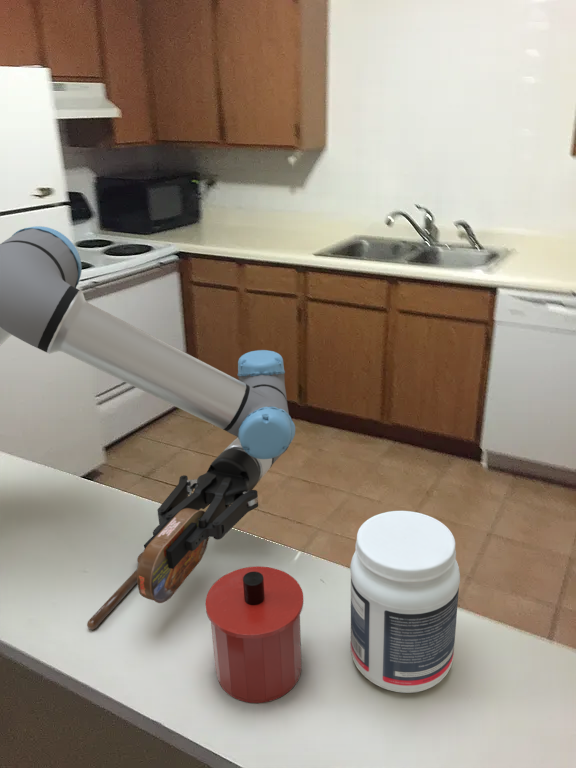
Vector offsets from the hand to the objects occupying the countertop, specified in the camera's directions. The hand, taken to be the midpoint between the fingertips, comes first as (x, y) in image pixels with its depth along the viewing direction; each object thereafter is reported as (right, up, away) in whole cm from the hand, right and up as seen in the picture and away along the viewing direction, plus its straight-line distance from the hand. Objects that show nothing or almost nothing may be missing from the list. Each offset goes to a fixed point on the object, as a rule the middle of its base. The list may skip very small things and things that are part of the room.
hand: (158, 556), depth 87 cm
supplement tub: (+31, -12, -2) cm, 33 cm away
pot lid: (+13, -3, -7) cm, 15 cm away
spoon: (-6, -7, +12) cm, 15 cm away
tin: (+1, -4, +6) cm, 7 cm away
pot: (+13, -13, -3) cm, 19 cm away
